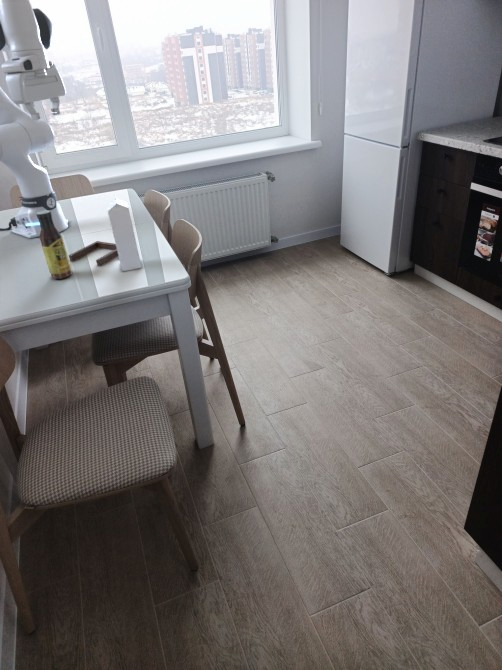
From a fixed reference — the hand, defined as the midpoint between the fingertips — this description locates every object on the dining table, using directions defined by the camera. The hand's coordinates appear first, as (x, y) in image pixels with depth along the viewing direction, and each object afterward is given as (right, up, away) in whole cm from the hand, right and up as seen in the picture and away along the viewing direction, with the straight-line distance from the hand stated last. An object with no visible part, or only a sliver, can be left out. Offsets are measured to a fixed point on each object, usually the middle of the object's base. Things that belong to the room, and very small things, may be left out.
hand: (46, 117), depth 138 cm
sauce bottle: (+1, -45, +8) cm, 46 cm away
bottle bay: (+9, -37, +19) cm, 43 cm away
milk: (+22, -42, +10) cm, 49 cm away
